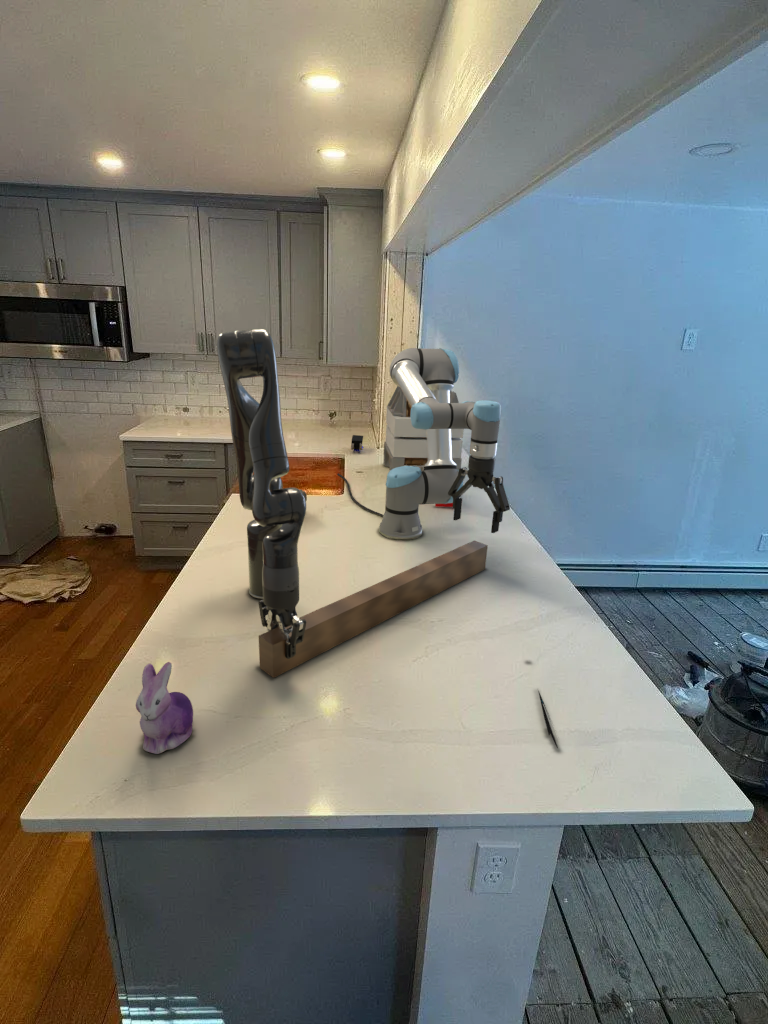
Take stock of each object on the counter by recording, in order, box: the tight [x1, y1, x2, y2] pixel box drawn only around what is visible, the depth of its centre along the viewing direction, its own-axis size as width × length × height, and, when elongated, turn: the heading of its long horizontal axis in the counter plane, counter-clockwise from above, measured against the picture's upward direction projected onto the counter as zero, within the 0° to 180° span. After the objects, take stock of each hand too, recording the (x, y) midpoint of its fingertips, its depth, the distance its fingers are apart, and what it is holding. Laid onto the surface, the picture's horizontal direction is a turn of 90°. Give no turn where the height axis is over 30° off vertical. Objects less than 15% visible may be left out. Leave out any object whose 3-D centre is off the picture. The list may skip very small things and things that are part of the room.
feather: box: [528, 660, 560, 749], centre depth 116 cm, size 2×28×2 cm
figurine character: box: [350, 434, 364, 454], centre depth 311 cm, size 7×8×15 cm
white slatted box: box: [383, 385, 465, 471], centre depth 268 cm, size 34×33×41 cm
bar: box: [258, 540, 489, 679], centre depth 148 cm, size 80×5×8 cm, turn 137°
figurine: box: [135, 661, 194, 755], centre depth 100 cm, size 9×10×15 cm
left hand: (282, 651), depth 123 cm, fingers closed on bar, 5 cm apart
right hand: (475, 525), depth 169 cm, fingers open, 13 cm apart
